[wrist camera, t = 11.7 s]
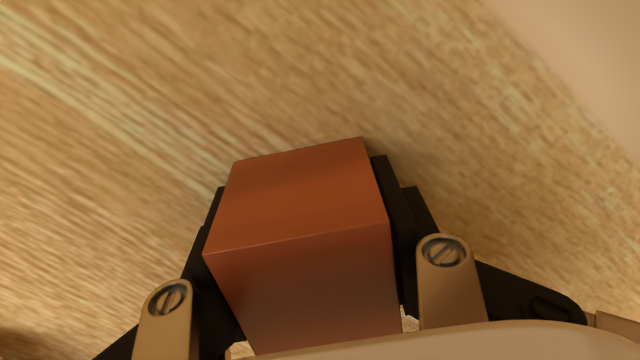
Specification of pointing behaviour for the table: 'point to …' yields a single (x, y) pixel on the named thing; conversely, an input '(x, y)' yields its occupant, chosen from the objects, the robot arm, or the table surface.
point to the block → (305, 249)
